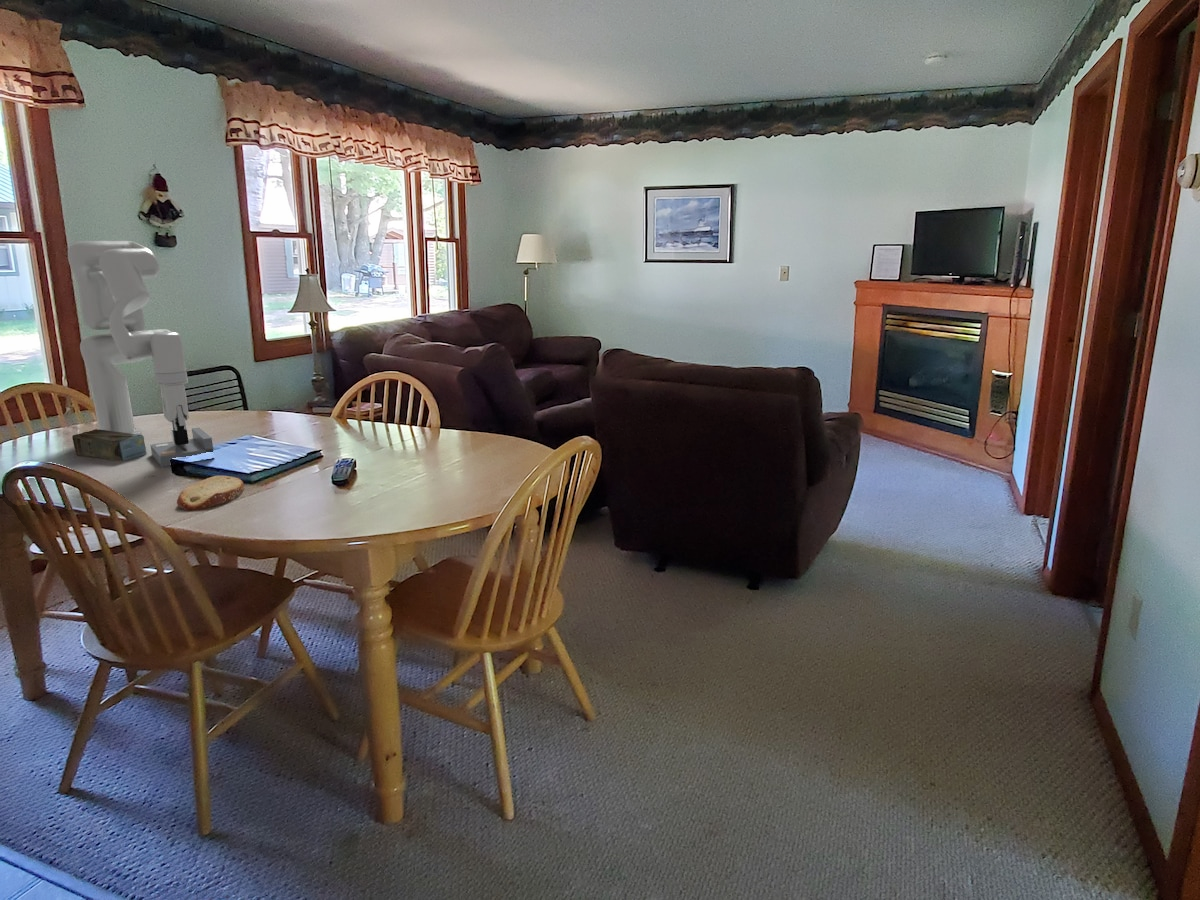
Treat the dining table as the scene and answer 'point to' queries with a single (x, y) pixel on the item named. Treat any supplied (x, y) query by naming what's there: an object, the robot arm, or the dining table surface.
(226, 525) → the dining table surface
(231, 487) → the bread slice
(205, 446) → the grey slide switch panel
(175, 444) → the knob
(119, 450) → the beverage carton
